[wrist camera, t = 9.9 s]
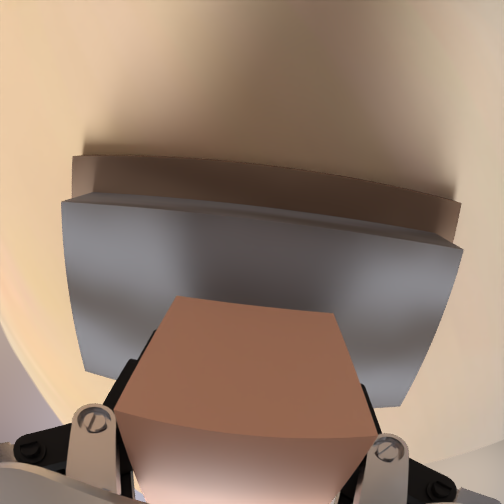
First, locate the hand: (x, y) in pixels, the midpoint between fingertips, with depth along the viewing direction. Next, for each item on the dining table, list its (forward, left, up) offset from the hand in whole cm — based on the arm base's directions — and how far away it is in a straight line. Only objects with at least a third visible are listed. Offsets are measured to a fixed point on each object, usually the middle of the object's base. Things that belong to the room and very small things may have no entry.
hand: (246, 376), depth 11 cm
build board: (0, 0, -7) cm, 7 cm away
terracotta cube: (0, 0, -1) cm, 1 cm away
